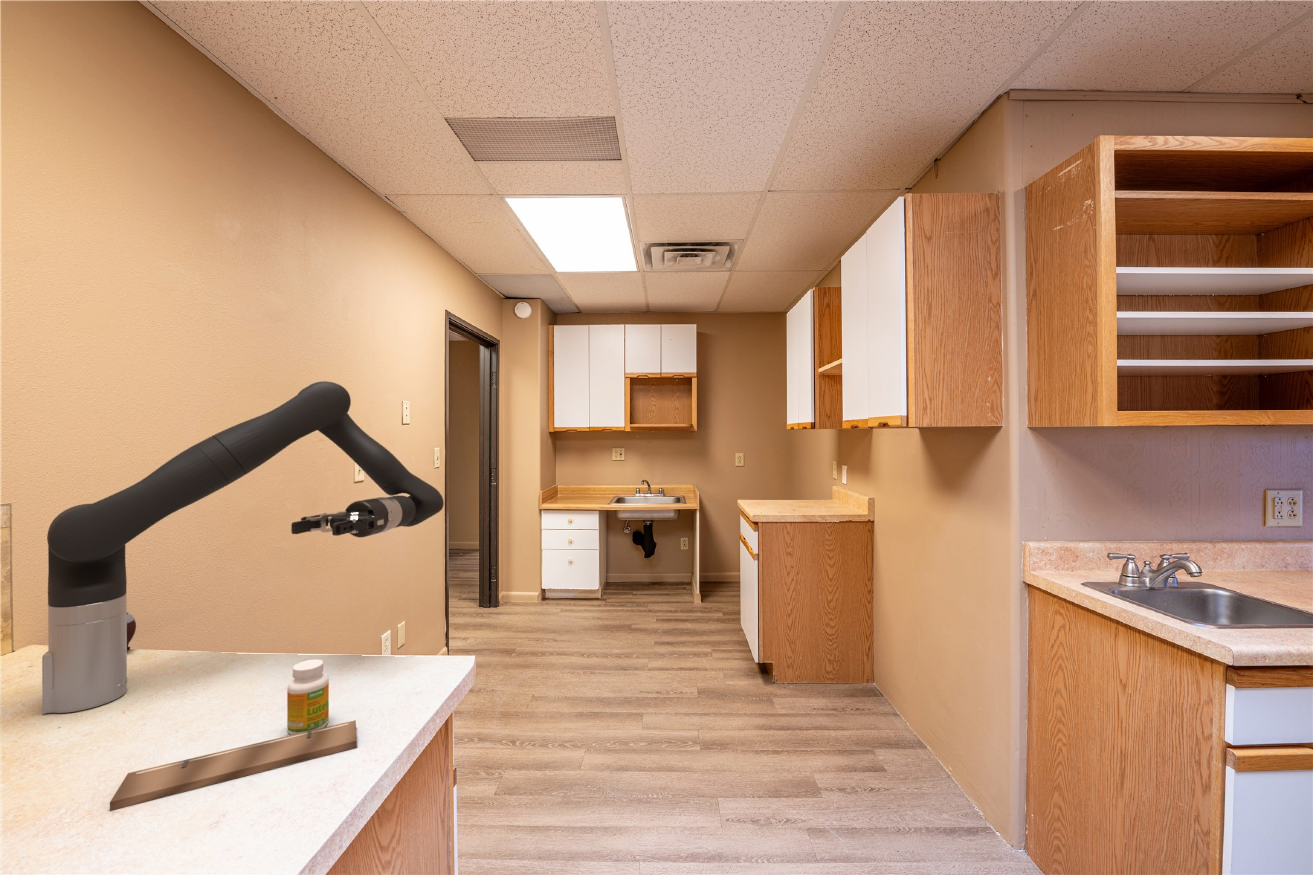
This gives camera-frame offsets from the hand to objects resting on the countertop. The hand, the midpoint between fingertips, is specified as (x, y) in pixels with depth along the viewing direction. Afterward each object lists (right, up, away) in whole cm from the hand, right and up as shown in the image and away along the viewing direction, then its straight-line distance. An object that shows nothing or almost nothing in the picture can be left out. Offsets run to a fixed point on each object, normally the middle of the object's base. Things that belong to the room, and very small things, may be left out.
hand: (313, 529), depth 99 cm
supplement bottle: (+9, -28, -15) cm, 33 cm away
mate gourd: (-50, -28, +12) cm, 58 cm away
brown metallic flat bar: (+6, -28, -24) cm, 38 cm away
